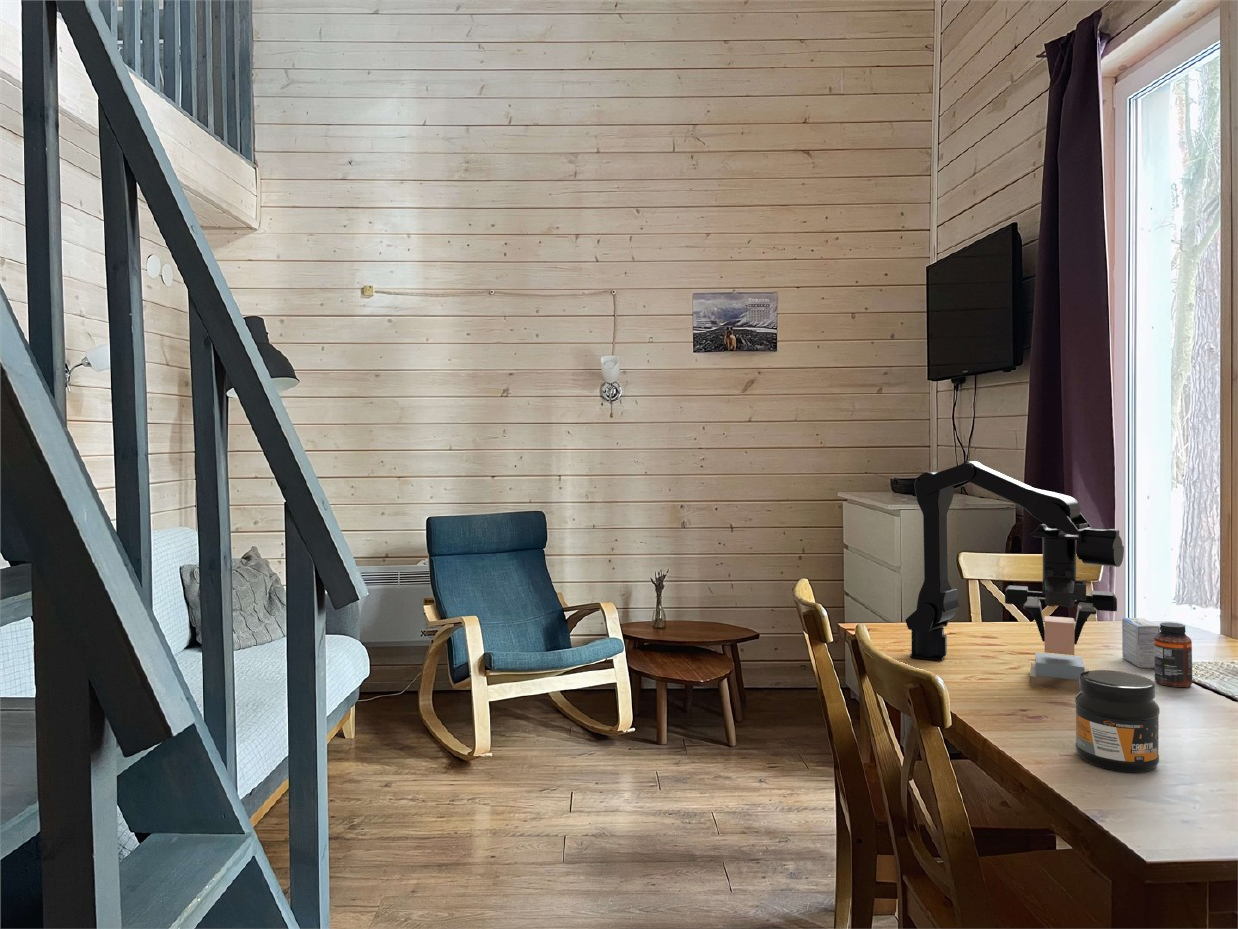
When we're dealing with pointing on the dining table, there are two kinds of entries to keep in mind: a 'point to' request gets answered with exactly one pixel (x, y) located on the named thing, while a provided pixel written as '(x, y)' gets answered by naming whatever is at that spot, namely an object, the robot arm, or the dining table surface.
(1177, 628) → the supplement bottle
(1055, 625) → the terracotta block
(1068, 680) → the walnut slab
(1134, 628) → the medicine box
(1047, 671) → the slate slab
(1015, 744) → the dining table surface
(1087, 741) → the supplement container
